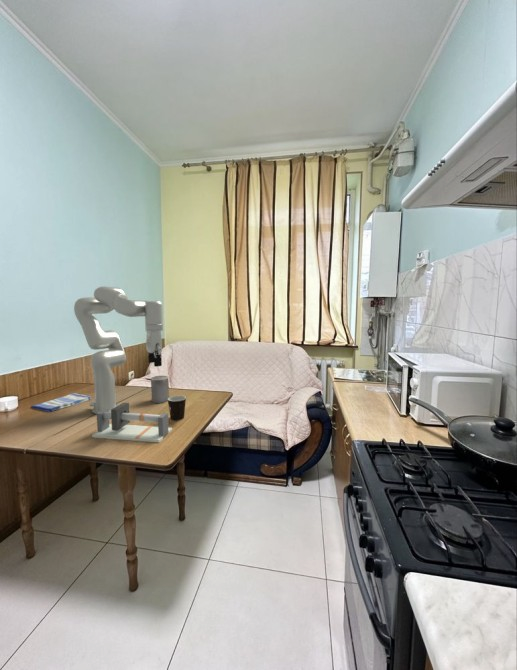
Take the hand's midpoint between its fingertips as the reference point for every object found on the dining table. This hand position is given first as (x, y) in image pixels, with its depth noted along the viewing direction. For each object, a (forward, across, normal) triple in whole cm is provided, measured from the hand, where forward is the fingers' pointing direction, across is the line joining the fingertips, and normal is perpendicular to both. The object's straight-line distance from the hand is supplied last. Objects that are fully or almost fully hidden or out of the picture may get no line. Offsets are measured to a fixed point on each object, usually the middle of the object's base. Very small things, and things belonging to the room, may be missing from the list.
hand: (154, 364), depth 137 cm
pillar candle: (+28, -30, +11) cm, 42 cm away
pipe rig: (+28, +8, -12) cm, 31 cm away
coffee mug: (+28, +3, +9) cm, 29 cm away
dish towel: (+30, -55, -36) cm, 73 cm away
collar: (+25, +4, -16) cm, 30 cm away
